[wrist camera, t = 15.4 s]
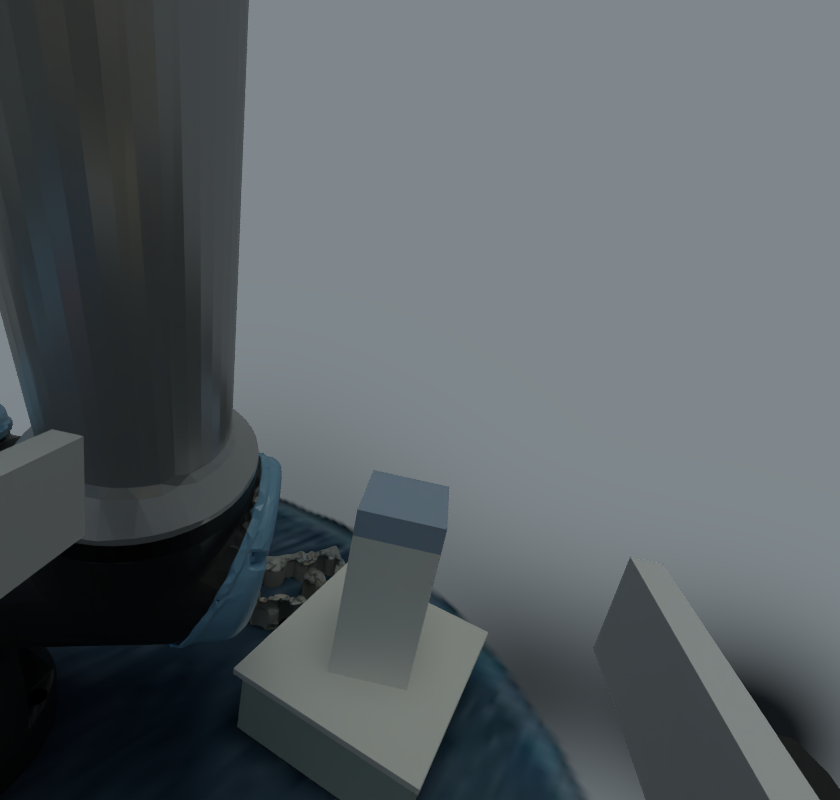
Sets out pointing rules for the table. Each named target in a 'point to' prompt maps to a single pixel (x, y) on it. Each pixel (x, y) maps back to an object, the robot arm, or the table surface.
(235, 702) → the table surface
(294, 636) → the podium
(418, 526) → the milk carton
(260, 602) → the egg carton
